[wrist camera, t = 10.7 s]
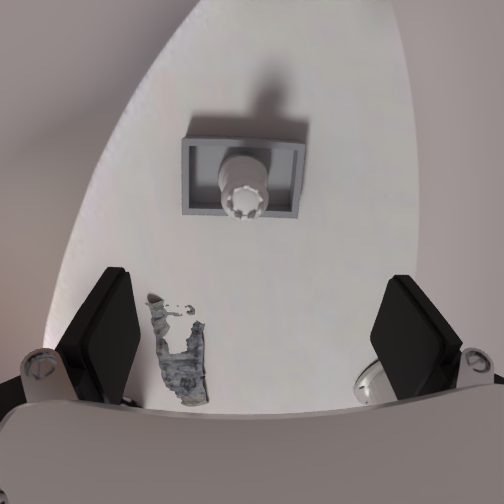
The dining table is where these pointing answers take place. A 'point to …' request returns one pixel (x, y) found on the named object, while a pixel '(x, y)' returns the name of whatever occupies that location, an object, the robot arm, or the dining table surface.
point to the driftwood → (180, 358)
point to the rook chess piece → (243, 186)
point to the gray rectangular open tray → (220, 148)
